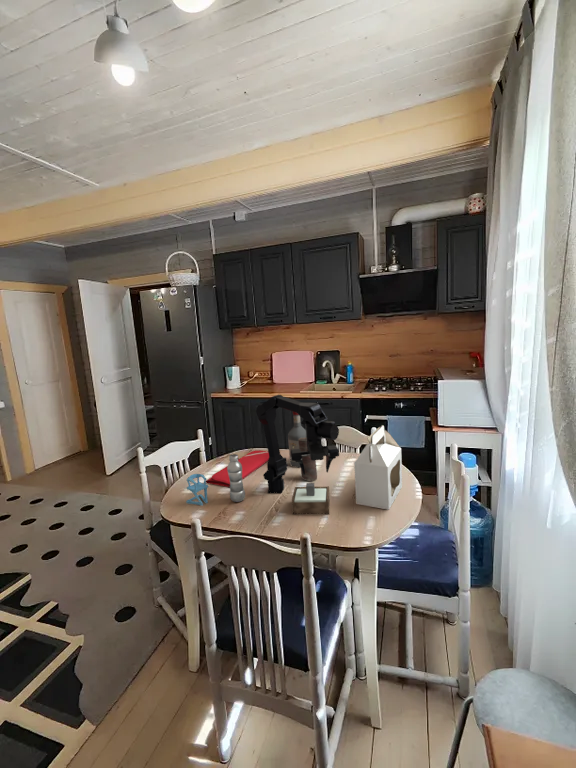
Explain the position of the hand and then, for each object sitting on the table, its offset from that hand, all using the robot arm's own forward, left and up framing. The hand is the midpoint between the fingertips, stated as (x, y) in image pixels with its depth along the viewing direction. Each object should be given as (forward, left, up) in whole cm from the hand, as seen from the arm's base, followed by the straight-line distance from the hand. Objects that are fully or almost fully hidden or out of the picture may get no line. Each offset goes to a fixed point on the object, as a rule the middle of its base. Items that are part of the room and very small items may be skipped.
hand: (315, 473), depth 151 cm
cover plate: (-2, -3, -8) cm, 9 cm away
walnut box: (-2, -3, -13) cm, 14 cm away
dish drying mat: (-40, +38, -14) cm, 57 cm away
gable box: (+26, +7, -14) cm, 30 cm away
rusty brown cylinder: (-5, +25, -13) cm, 29 cm away
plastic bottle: (-34, +4, -13) cm, 37 cm away
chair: (-51, +3, -13) cm, 53 cm away
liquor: (-11, +43, -13) cm, 46 cm away
